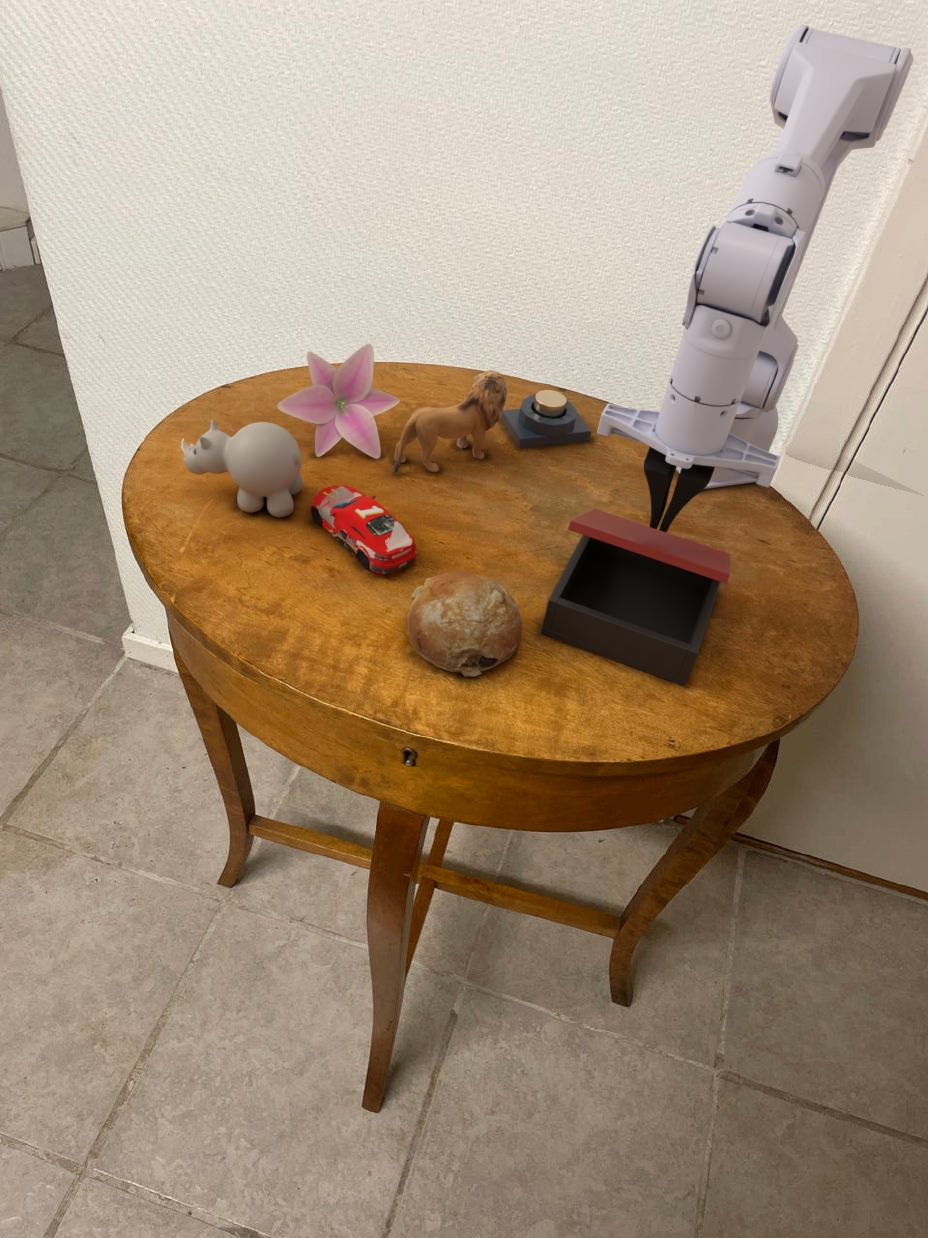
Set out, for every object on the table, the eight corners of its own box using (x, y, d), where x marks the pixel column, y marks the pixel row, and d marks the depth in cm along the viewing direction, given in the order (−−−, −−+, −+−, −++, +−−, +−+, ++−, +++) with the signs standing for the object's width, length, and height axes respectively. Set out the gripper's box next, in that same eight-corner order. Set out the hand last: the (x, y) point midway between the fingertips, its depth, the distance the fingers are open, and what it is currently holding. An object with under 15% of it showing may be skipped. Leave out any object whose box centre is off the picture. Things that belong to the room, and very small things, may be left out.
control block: (567, 412, 111) (572, 390, 109) (590, 442, 107) (595, 420, 105) (499, 419, 109) (502, 396, 107) (519, 450, 104) (523, 427, 102)
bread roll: (422, 703, 81) (447, 675, 74) (382, 599, 83) (402, 563, 76) (518, 671, 85) (551, 642, 78) (477, 573, 87) (505, 537, 80)
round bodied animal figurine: (200, 464, 96) (192, 393, 90) (311, 485, 96) (310, 415, 90) (173, 504, 91) (162, 432, 85) (290, 527, 90) (287, 456, 84)
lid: (726, 583, 74) (729, 574, 73) (567, 529, 76) (570, 520, 76) (727, 561, 87) (730, 553, 87) (592, 516, 90) (594, 508, 90)
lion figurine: (480, 427, 107) (490, 357, 101) (510, 449, 104) (522, 379, 98) (377, 464, 99) (381, 392, 93) (407, 490, 97) (413, 417, 90)
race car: (301, 511, 92) (300, 479, 90) (346, 494, 95) (347, 462, 92) (377, 586, 86) (379, 553, 83) (423, 565, 89) (426, 533, 86)
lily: (263, 446, 101) (272, 403, 93) (305, 365, 106) (318, 316, 97) (362, 493, 103) (380, 456, 94) (400, 411, 108) (420, 368, 99)
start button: (556, 401, 108) (559, 388, 107) (568, 418, 105) (571, 405, 104) (528, 404, 107) (530, 391, 105) (540, 421, 104) (542, 407, 103)
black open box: (684, 686, 81) (697, 653, 78) (540, 633, 84) (548, 599, 81) (713, 594, 90) (727, 561, 87) (583, 549, 93) (592, 515, 90)
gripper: (602, 382, 69) (568, 522, 79) (791, 439, 67) (733, 577, 76) (626, 343, 74) (592, 479, 84) (804, 395, 71) (747, 530, 81)
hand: (660, 523), depth 80 cm, fingers closed
